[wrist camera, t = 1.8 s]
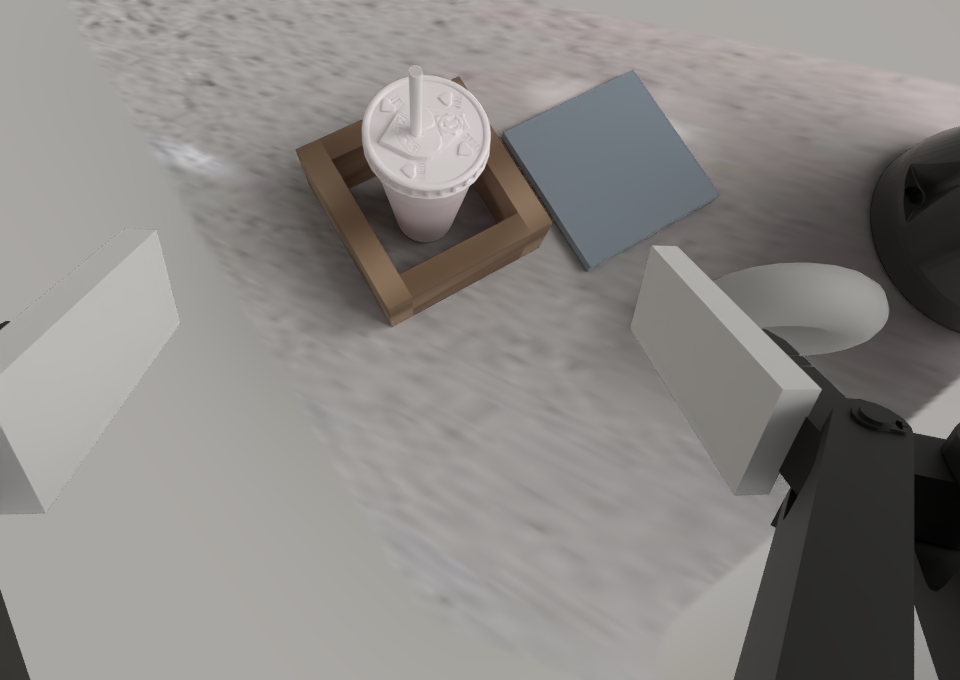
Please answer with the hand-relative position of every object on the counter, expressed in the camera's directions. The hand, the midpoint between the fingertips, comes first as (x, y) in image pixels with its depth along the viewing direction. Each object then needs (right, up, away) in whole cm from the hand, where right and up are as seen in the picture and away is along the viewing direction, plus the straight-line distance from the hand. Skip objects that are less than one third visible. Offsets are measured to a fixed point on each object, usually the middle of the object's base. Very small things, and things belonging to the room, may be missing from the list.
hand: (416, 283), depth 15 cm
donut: (+19, -1, +22) cm, 29 cm away
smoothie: (-2, +7, +21) cm, 22 cm away
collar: (-2, +7, +21) cm, 22 cm away
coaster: (+11, +10, +23) cm, 27 cm away
